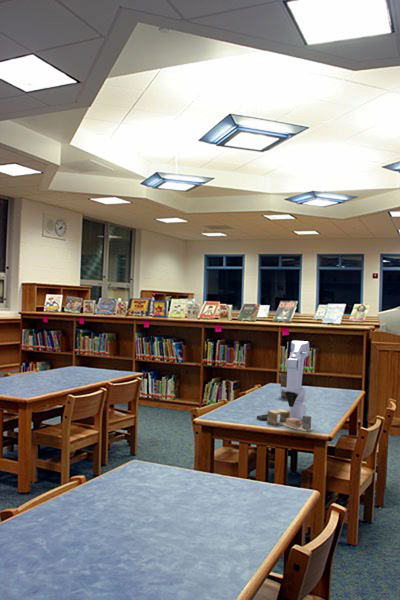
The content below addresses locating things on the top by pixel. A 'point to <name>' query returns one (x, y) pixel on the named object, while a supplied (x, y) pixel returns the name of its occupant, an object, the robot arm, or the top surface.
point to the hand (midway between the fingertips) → (291, 406)
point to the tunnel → (273, 416)
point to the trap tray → (262, 417)
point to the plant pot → (283, 383)
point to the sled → (298, 423)
